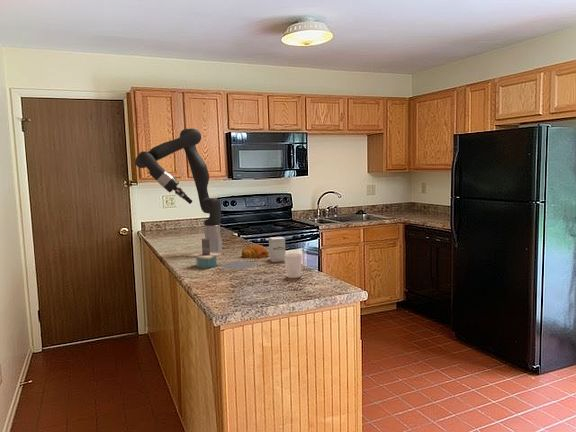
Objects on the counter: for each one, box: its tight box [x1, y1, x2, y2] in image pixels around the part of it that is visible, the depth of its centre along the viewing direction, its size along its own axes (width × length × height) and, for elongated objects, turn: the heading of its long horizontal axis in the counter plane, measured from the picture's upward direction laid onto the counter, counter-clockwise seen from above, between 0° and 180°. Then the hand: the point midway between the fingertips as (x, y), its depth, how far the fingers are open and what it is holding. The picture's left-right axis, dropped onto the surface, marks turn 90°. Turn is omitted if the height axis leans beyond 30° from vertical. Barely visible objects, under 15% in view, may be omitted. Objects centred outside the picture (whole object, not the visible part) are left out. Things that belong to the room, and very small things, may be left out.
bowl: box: [195, 257, 218, 269], centre depth 231 cm, size 10×10×6 cm
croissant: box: [241, 244, 269, 259], centre depth 253 cm, size 14×16×8 cm
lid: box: [187, 238, 225, 259], centre depth 230 cm, size 13×13×9 cm
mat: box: [217, 260, 261, 270], centre depth 230 cm, size 16×16×1 cm
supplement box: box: [268, 236, 286, 263], centre depth 239 cm, size 7×7×13 cm
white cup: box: [284, 252, 303, 279], centre depth 204 cm, size 8×8×10 cm
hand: (191, 202), depth 240 cm, fingers open, 8 cm apart
